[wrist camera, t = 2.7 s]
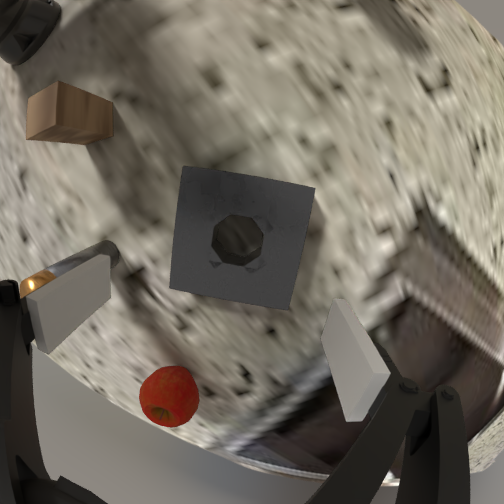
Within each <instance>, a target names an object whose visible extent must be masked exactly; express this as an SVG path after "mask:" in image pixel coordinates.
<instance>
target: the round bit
mask: <svg viewBox="0 0 504 504" xmlns="http://www.w3.org/2000/svg"><path fill="white" fill-rule="evenodd" d="M99 254H103V255H107V256H110V269H112V268H113V267H115V266H116V265H117V264H118V262H119V251H118V248H117V247H116V245H115V244H114V243H113V242H111V241H108V240H104V241H102V242H99V243H97V244H95V245H93V246H91V247H88V248H86V249H84V250H82V251H80V252H78V253H76V254H74V255H72V256H69V257H67V258H65V259H63V260H61V261H59V262H57V263H55V264H53V265H51V266H49V267H47V268H45V269H43V270H42V271H40V272H38V273H36V274H34V275H32V276H30V277H28V278H26V279H25V280H23V281H22V282H21V284H20V296H21V298H23V297H24V296H26V295H27V294H29V293H31V292H32V291H34V290H36V289H37V288H39V287H41V286H42V285H44V284H46V283H48V282H51V281H52V280H54V279H56V278H58V277H59V276H61V275H63V274H65V273H66V272H68V271H70V270H72V269H73V268H75V267H77V266H79V265H81V264H82V263H84V262H86V261H88V260H90V259H92V258H94V257H95V256H97V255H99Z"/></svg>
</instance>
